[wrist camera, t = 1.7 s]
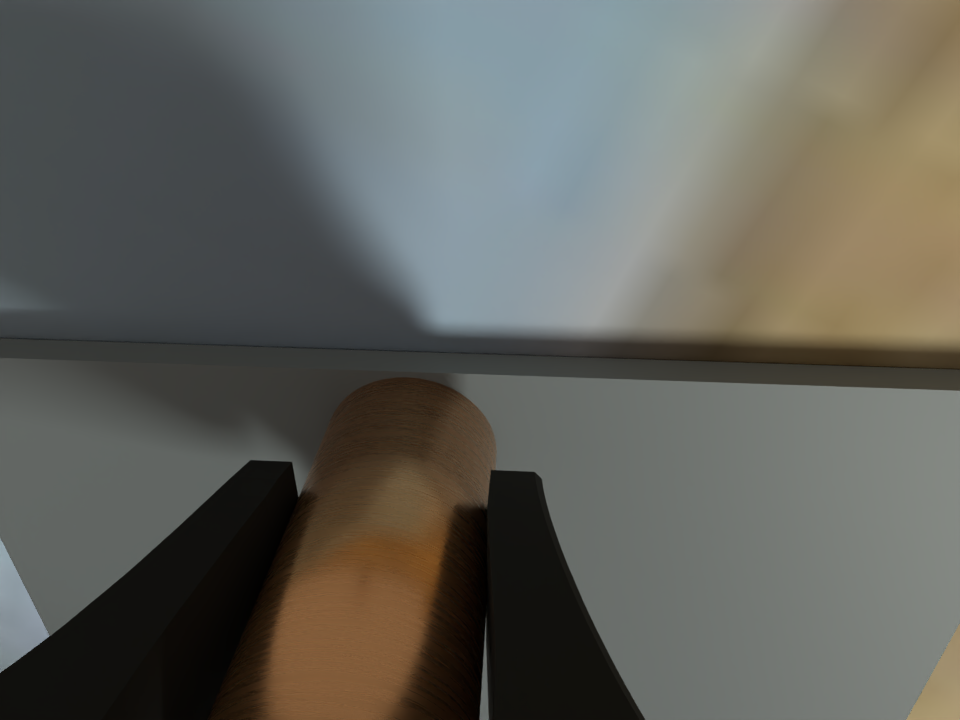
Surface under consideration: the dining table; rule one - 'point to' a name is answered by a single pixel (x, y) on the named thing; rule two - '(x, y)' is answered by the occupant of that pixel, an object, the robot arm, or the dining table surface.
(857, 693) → the board
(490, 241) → the dining table surface
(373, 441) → the lever
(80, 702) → the robot arm
